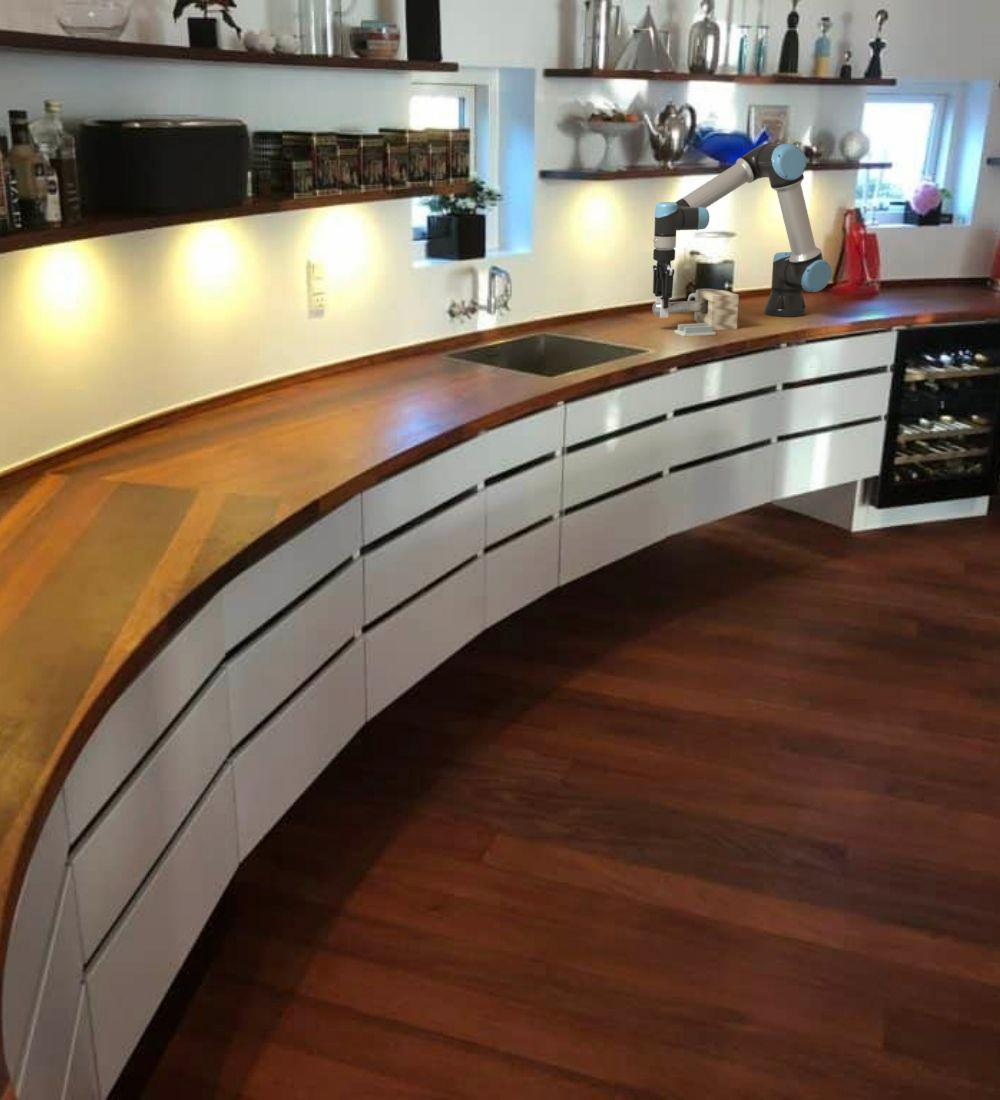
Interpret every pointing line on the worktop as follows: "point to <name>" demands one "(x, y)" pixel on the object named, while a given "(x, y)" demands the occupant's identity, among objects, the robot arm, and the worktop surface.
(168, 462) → the worktop surface
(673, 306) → the axle
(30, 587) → the worktop surface
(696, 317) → the mug
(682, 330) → the cradle
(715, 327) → the patterned beige cube
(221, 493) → the worktop surface
